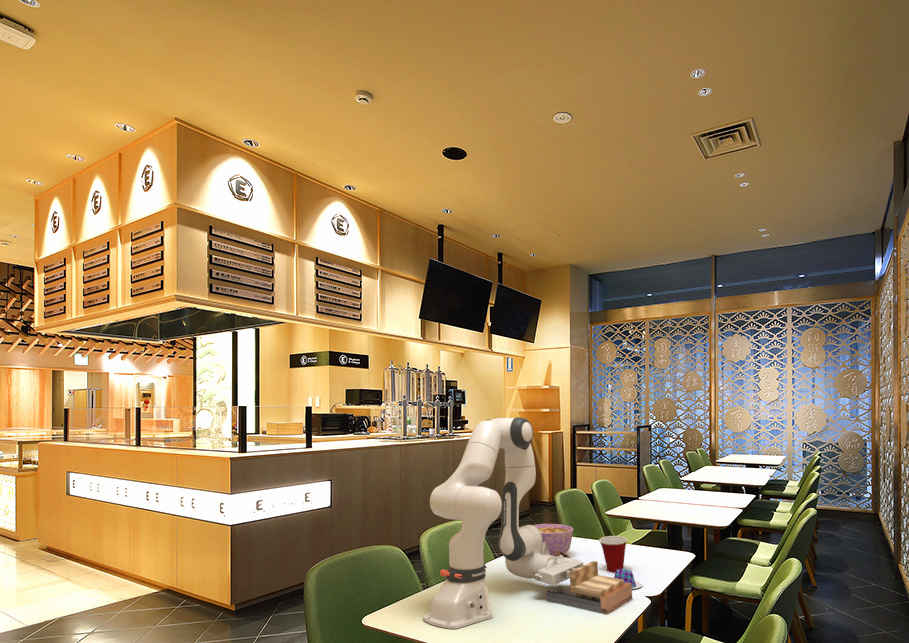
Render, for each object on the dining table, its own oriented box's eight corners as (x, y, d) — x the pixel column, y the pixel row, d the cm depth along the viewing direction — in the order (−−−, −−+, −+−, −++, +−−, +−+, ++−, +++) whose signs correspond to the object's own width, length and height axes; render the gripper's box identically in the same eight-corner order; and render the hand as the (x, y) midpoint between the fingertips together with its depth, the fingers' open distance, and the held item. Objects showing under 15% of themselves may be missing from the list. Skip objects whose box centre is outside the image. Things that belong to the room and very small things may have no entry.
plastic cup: (594, 571, 232) (593, 538, 233) (611, 565, 239) (609, 534, 240) (619, 576, 224) (617, 543, 225) (634, 570, 231) (632, 538, 232)
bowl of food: (548, 548, 270) (547, 521, 271) (584, 556, 254) (582, 528, 256) (517, 556, 257) (516, 528, 259) (553, 565, 242) (552, 535, 243)
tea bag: (543, 569, 235) (542, 543, 237) (532, 566, 241) (530, 540, 242) (550, 568, 237) (549, 542, 239) (538, 564, 243) (537, 539, 244)
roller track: (607, 614, 184) (606, 597, 184) (546, 600, 198) (545, 584, 199) (632, 599, 197) (631, 583, 198) (573, 587, 212) (573, 572, 212)
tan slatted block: (601, 606, 186) (600, 576, 187) (571, 599, 193) (569, 571, 195) (624, 593, 198) (622, 565, 199) (594, 587, 205) (593, 560, 206)
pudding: (648, 585, 213) (646, 569, 214) (632, 593, 204) (631, 577, 205) (617, 579, 221) (616, 564, 222) (601, 587, 212) (600, 571, 213)
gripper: (530, 565, 202) (565, 572, 193) (561, 553, 217) (595, 559, 208) (530, 585, 201) (566, 592, 192) (562, 571, 216) (596, 578, 207)
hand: (582, 575), depth 200 cm, fingers closed, pressing on tan slatted block
